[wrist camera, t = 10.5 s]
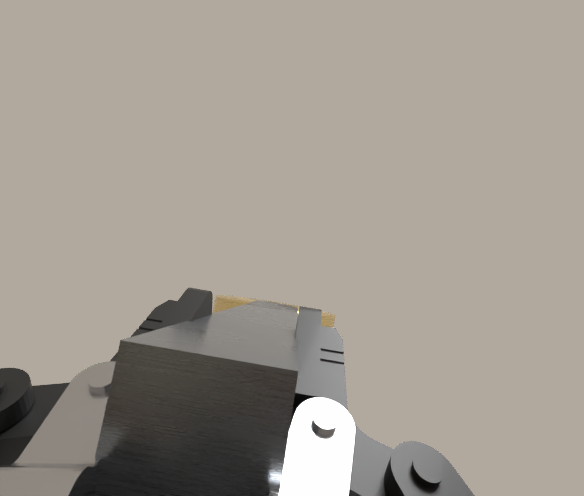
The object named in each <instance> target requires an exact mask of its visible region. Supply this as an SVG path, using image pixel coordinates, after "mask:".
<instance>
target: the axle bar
mask: <svg viewBox="0 0 584 496" xmlns="http://www.w3.org/2000/svg"><path fill="white" fill-rule="evenodd" d="M299 307H300V306H295V305H289V304H284V303H278V302H272V301H265V300H258V299H251V298H244V297H235V296H224V295H217V296H216V297H215V302H214V308H213V313H212V315H209V316H206V317H203V318H199V319H196V320H193V321H185V322H181V323H178V324H175V325H171V326H168V327H164V328H161V329H157V330H154V331H150V332H147V333H144V334H140V335H137V336H133V337H130V338H126V339H123V340H120V346H119V350H118V354H117V359H116V363H115V368H114V372H113V377H112V381H111V386H110V391H109V395H108V400H107V404H106V409H105V413H104V418H103V422H102V427H101V432H100V436H99V441H98V445H97V450H96V454H95V458H96V459H100V463H99V470H98V477H97V485H96V492H95V496H269V493H270V491H272V492H277V493H280V486H281V480H282V473H283V467H284V461H285V454H286V448H287V441H288V435H289V429H290V422H291V416H292V409H293V403H294V397H295V390H296V384H297V377H298V340H297V339H295V335H296V325H297V319H298V313H299ZM334 320H335V315H334V314H331V313H327V312H323V311H322V315H321V326H325V327H331V328H333V327H334Z"/></svg>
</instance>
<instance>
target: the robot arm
mask: <svg viewBox="0 0 584 496" xmlns="http://www.w3.org/2000/svg"><path fill="white" fill-rule="evenodd" d="M209 315H212V292H211V291H206V290H200V289H194V288H188V289H187V290H186V291H185V292H184V294H183V295H182V296H181V298H180V299H179V300H178V301H173V300H168V301H167V302H165V303H163V304H161V305H159V306H158V307H156V308H155V309H154V310H153V311H152V312H151V314H150V315H149V316H148V317H147V319H146V320H145V321H144V322H143V323H142V324H141V325H140V327H139V329H137V330H136V331H135V332H134V334H133V335H132V336H131V337H133V336H137V335H140V334H144V333H147V332H150V331H154V330H157V329H161V328H164V327H168V326H171V325H175V324H178V323H181V322H185V321H193V320H196V319H199V318H203V317H206V316H209ZM321 315H322V311H321V310H319V309H313V308H307V307H301V306H300V307H299V313H298V319H297V325H296V335H295V339H297V340H298V377H297V384H296V390H295V397H294V403H293V409H292V416H291V422H290V429H289V435H288V441H287V448H286V454H285V461H284V467H283V473H282V480H281V486H280V493H277V492H272V491H270V493H269V496H474V495H473V493H472V492H471V490H470V489H469V488H468V486H467V485H466V484H465V482H464V481H463V479H462V478H461V477H460V475H458V473H457V472H456V470H455V469H454V467H452V465H451V464H450V463H449V461H448V460H447V459H446V458H445V457H444V456H443V455H442V454H441V453H439V452H438V451H436V450H435V449H434V448H432V447H430V446H428V445H426V444H423V443H420V442H413V441H409V442H403V443H401V444H399V445H398V446H396V448H395V449H392V448H390V447H388V446H386V445H384V444H382V443H380V442H378V441H375V440H374V439H372V438H370V437H369V436H367V435H366V434H364V433H363V432H362V431H361V430H360V429H359V428H358V427H357V426H356V425H355V423H354V422H353V419H352V417H351V416H350V414H349V412H348V408H347V396H346V382H345V366H344V355H343V353H344V351H343V340H342V338H341V336H340V335H339V333H338V331H337V330H336V328H331V327H325V326H321ZM117 354H118V352H117ZM117 354H116V355H115V356H114V357H113V358H112V359H111V361H110V362H103V363H99V364H96V365H93V366H91V367H89V368H87V369H85V370H83V371H82V372H80V373H79V374H78V375H77V376H75V378H73V380H72V381H71V382H70V383H63V384H51V385H40V386H32V385H31V380H30V377H29V375H28V374H27V373H26V372H25V371H23V370H20V369H16V368H2V369H0V496H95V492H96V485H97V477H98V470H99V463H100V459H96V458H95V454H96V450H97V445H98V441H99V436H100V432H101V427H102V422H103V418H104V413H105V409H106V404H107V400H108V395H109V391H110V386H111V381H112V377H113V372H114V368H115V363H116V359H117Z"/></svg>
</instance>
